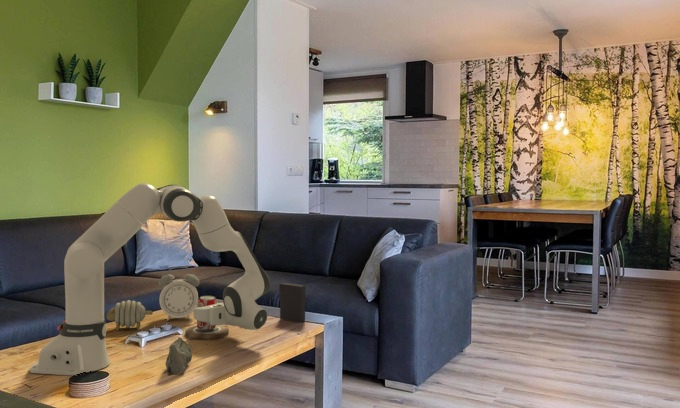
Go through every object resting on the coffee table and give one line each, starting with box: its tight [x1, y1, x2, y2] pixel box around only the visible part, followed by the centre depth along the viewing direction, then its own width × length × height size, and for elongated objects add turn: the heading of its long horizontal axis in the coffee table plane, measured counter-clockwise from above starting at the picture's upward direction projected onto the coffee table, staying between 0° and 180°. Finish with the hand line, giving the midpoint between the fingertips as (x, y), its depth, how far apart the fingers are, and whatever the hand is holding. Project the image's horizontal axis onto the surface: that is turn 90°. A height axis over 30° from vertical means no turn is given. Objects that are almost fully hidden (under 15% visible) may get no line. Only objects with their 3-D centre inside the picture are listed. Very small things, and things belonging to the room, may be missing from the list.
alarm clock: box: [157, 266, 200, 322], centre depth 242 cm, size 16×9×22 cm, turn 104°
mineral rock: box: [165, 336, 193, 375], centre depth 182 cm, size 13×11×10 cm
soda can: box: [196, 295, 218, 331], centre depth 221 cm, size 7×7×12 cm
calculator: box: [279, 282, 306, 323], centre depth 244 cm, size 11×4×15 cm, turn 58°
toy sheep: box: [105, 299, 154, 332], centre depth 227 cm, size 11×17×11 cm, turn 110°
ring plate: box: [184, 325, 230, 341], centre depth 221 cm, size 16×16×2 cm
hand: (205, 306), depth 221 cm, fingers closed on soda can, 7 cm apart
